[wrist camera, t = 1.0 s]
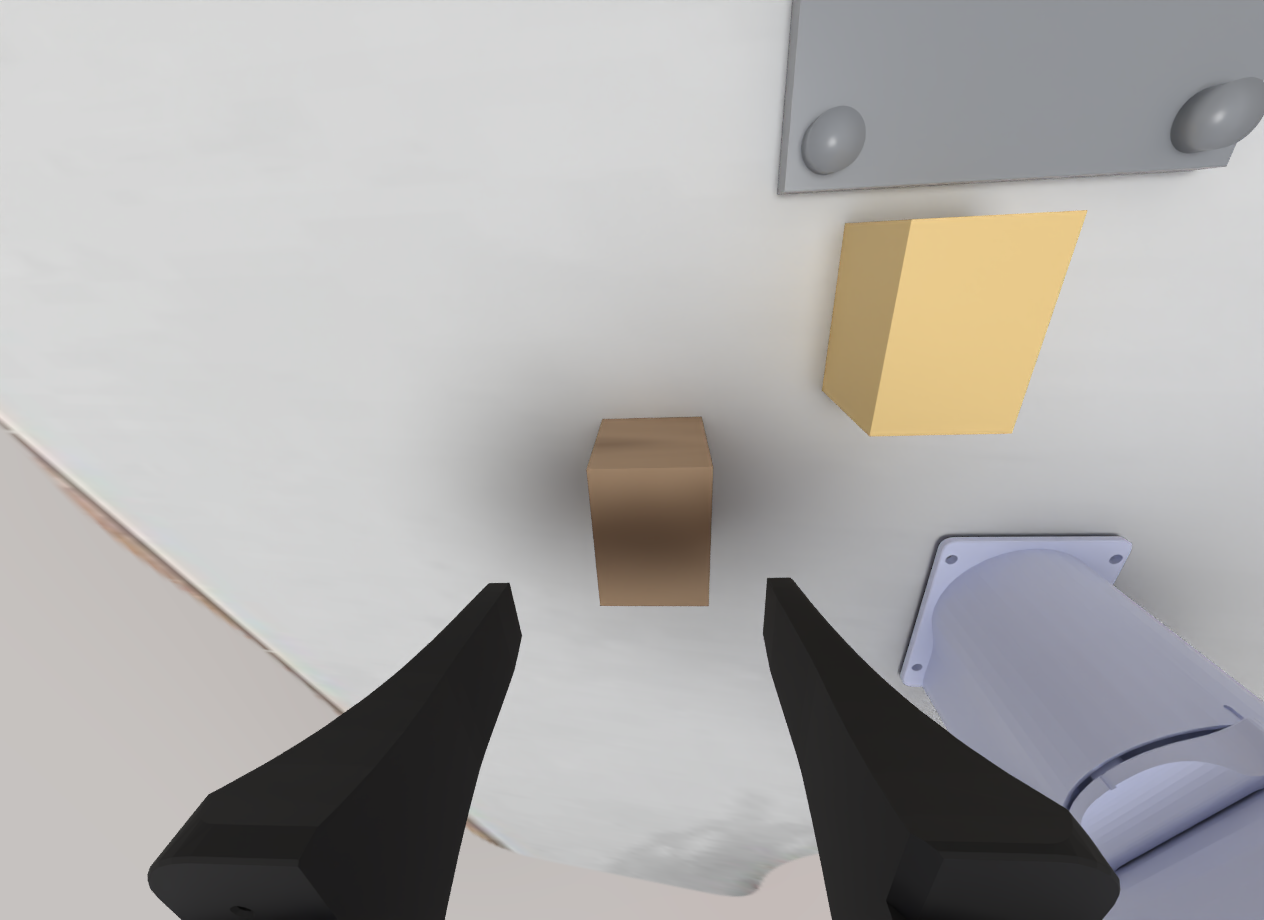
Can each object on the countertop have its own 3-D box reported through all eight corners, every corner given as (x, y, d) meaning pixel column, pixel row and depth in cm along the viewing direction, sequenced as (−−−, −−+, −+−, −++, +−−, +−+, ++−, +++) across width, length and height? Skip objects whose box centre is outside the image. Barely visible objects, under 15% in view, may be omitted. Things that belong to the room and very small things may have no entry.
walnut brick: (699, 533, 22) (708, 605, 18) (611, 534, 22) (600, 605, 18) (701, 415, 19) (713, 466, 15) (602, 418, 20) (586, 469, 15)
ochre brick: (929, 387, 18) (1011, 433, 14) (821, 389, 19) (869, 436, 14) (970, 216, 16) (1087, 210, 11) (844, 223, 16) (911, 219, 12)
